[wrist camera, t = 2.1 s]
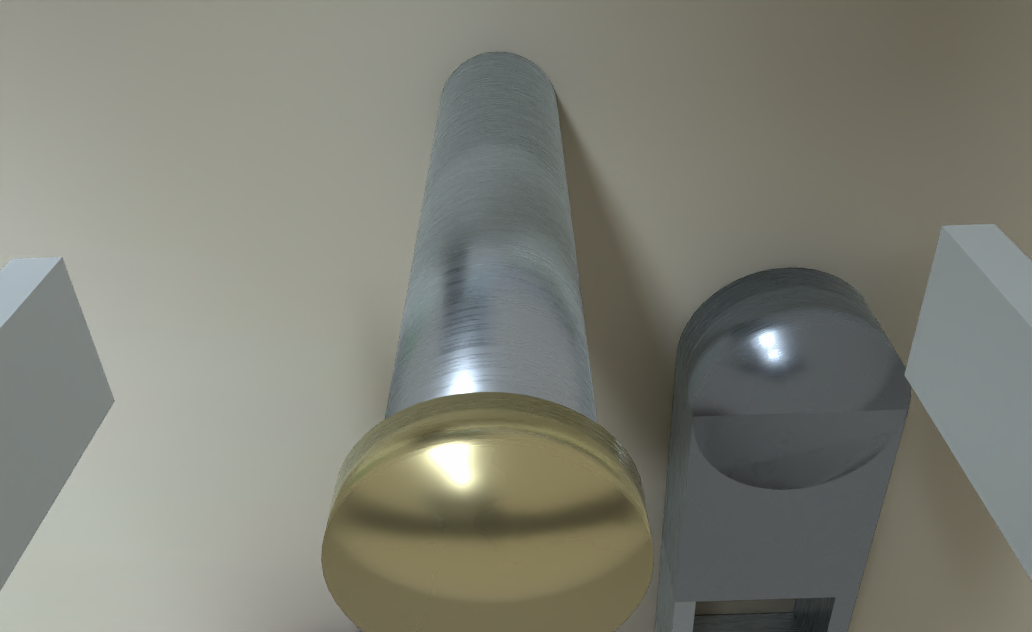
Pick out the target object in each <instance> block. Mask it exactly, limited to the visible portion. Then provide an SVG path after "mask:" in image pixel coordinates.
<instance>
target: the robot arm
mask: <svg viewBox="0 0 1032 632" xmlns="http://www.w3.org/2000/svg"><path fill="white" fill-rule="evenodd" d="M904 375H905V377H906V379H907V380H908V382H909V383H910V385H911V387H912V388H913V390H914V391H915V393H916V395H917V396H918V398H919V400H920V401H921V403H922V404H923V406H924V408H925V409H926V411H927V413H928V414H929V416H930V417H931V419H932V421H933V422H934V424H935V426H936V427H937V429H938V430H939V432H940V434H941V435H942V437H943V438H944V440H945V442H946V443H947V445H948V447H949V448H950V450H951V451H952V453H953V455H954V456H955V458H956V460H957V461H958V463H959V464H960V466H961V468H962V469H963V471H964V473H965V474H966V476H967V477H968V479H969V481H970V482H971V484H972V486H973V487H974V489H975V490H976V492H977V494H978V495H979V497H980V498H981V500H982V502H983V503H984V505H985V507H986V508H987V510H988V511H989V513H990V515H991V516H992V518H993V520H994V521H995V523H996V524H997V526H998V528H999V529H1000V531H1001V533H1002V534H1003V536H1004V537H1005V539H1006V541H1007V542H1008V544H1009V545H1010V547H1011V549H1012V550H1013V552H1014V554H1015V555H1016V557H1017V558H1018V560H1019V562H1020V563H1021V565H1022V567H1023V568H1024V570H1025V571H1026V573H1027V575H1028V576H1029V578H1030V580H1031V581H1032V261H1031V260H1030V259H1029V258H1028V257H1027V256H1026V255H1025V254H1024V253H1023V252H1022V251H1021V250H1020V249H1019V248H1018V247H1017V246H1016V245H1015V244H1014V243H1013V242H1012V241H1011V240H1010V239H1009V238H1008V237H1007V236H1006V235H1005V234H1004V233H1003V232H1002V231H1001V230H1000V229H999V228H998V227H997V226H996V225H995V224H973V225H945V226H942V227H941V231H940V235H939V239H938V243H937V247H936V251H935V255H934V259H933V263H932V267H931V271H930V275H929V279H928V283H927V287H926V291H925V295H924V299H923V303H922V307H921V311H920V315H919V319H918V323H917V327H916V331H915V335H914V339H913V343H912V347H911V351H910V355H909V359H908V363H907V367H906V370H905V374H904ZM114 401H115V400H114V397H113V395H112V392H111V389H110V387H109V384H108V381H107V378H106V376H105V373H104V370H103V367H102V365H101V362H100V359H99V356H98V354H97V351H96V348H95V345H94V343H93V340H92V337H91V335H90V332H89V329H88V326H87V324H86V321H85V318H84V315H83V313H82V310H81V307H80V304H79V302H78V299H77V296H76V293H75V291H74V288H73V285H72V283H71V280H70V277H69V274H68V272H67V269H66V266H65V263H64V261H63V258H62V257H49V258H21V259H11V260H10V261H9V262H8V263H7V264H6V265H5V266H4V267H3V269H2V270H1V271H0V591H1V589H2V587H3V586H4V584H5V582H6V581H7V579H8V577H9V576H10V574H11V572H12V571H13V569H14V567H15V566H16V564H17V562H18V561H19V559H20V557H21V556H22V554H23V552H24V551H25V549H26V547H27V546H28V544H29V543H30V541H31V539H32V538H33V536H34V534H35V533H36V531H37V529H38V528H39V526H40V524H41V523H42V521H43V519H44V518H45V516H46V514H47V513H48V511H49V509H50V508H51V506H52V504H53V503H54V501H55V499H56V498H57V496H58V494H59V493H60V491H61V489H62V488H63V486H64V484H65V483H66V481H67V479H68V478H69V476H70V474H71V473H72V471H73V469H74V468H75V466H76V464H77V463H78V461H79V459H80V458H81V456H82V454H83V453H84V451H85V449H86V448H87V446H88V444H89V443H90V441H91V439H92V438H93V436H94V434H95V433H96V431H97V429H98V428H99V426H100V424H101V423H102V421H103V420H104V418H105V416H106V415H107V413H108V411H109V410H110V408H111V406H112V405H113V403H114Z"/></svg>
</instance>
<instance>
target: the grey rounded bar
mask: <svg viewBox="0 0 1032 632" xmlns="http://www.w3.org/2000/svg"><path fill="white" fill-rule="evenodd" d="M905 370H906V368H905V366H904V364H903V363H902V361H901V359H900V358H899V356H898V354H897V353H896V351H895V349H894V348H893V346H892V344H891V343H890V341H889V340H888V338H887V336H886V335H885V333H884V331H883V330H882V328H881V326H880V325H879V323H878V322H877V320H876V318H875V317H874V315H873V313H872V312H871V310H870V308H869V307H868V305H867V304H866V302H865V300H864V299H863V298H862V296H861V295H860V294H859V293H858V292H857V291H856V290H855V289H854V288H853V287H851V286H850V285H849V284H848V283H846V282H844V281H843V280H841V279H839V278H837V277H835V276H833V275H830V274H828V273H825V272H821V271H817V270H812V269H805V268H781V269H772V270H767V271H762V272H758V273H755V274H752V275H749V276H746V277H744V278H741V279H739V280H737V281H734V282H733V283H731V284H729V285H727V286H726V287H724V288H722V289H721V290H719V291H718V292H717V293H715V294H714V295H712V296H711V297H710V298H709V299H708V300H707V301H706V302H704V303H703V304H702V305H701V306H700V307H699V309H698V310H697V311H696V312H695V313H694V314H693V316H692V317H691V319H690V320H689V322H688V323H687V325H686V327H685V329H684V331H683V333H682V336H681V339H680V342H679V345H678V351H677V359H676V372H675V385H674V397H673V410H672V422H671V435H670V447H669V460H668V472H667V485H666V497H665V510H664V523H663V535H662V548H661V560H660V573H659V585H658V598H657V610H656V623H655V632H847V631H848V627H849V623H850V620H851V616H852V613H853V609H854V605H855V602H856V598H857V594H858V591H859V587H860V584H861V580H862V576H863V573H864V569H865V565H866V562H867V558H868V554H869V551H870V547H871V544H872V540H873V536H874V533H875V529H876V525H877V522H878V518H879V515H880V511H881V507H882V504H883V500H884V496H885V493H886V489H887V485H888V482H889V478H890V475H891V471H892V467H893V464H894V460H895V456H896V453H897V449H898V446H899V442H900V438H901V435H902V431H903V427H904V424H905V420H906V417H907V413H908V409H909V404H910V399H911V386H910V383H909V382H908V380H907V379H906V377H905V375H904V374H905ZM764 599H796V603H795V607H794V612H793V613H774V614H742V615H710V616H694V615H695V606H696V602H701V601H733V600H764Z"/></svg>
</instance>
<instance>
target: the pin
mask: <svg viewBox="0 0 1032 632" xmlns="http://www.w3.org/2000/svg"><path fill="white" fill-rule="evenodd" d="M321 561H322V568H323V575H324V578H325V581H326V583H327V586H328V589H329V591H330V593H331V595H332V596H333V598H334V600H335V602H336V603H337V605H338V606H339V607H340V608H341V610H342V611H343V612H344V614H345V615H346V616H347V617H348V618H349V619H350V620H351V621H352V622H353V623H354V624H356V625H357V626H358V627H359V628H360V629H362V630H363V631H364V632H613V631H614V630H616V629H617V628H618V627H619V626H620V625H621V624H622V623H624V622H625V621H626V620H627V619H628V618H629V617H630V615H631V614H632V613H633V612H634V611H635V609H636V608H637V607H638V606H639V604H640V602H641V601H642V599H643V597H644V595H645V594H646V592H647V589H648V586H649V584H650V581H651V577H652V572H653V566H654V554H653V545H652V539H651V533H650V527H649V522H648V516H647V510H646V505H645V499H644V493H643V488H642V484H641V479H640V476H639V474H638V471H637V469H636V467H635V464H634V463H633V461H632V459H631V458H630V456H629V455H628V453H627V452H626V450H625V449H624V448H623V447H622V446H621V444H620V443H619V442H618V441H617V440H616V439H615V438H614V437H613V436H612V435H611V434H610V433H609V432H607V431H606V430H605V429H604V428H603V427H601V426H600V425H599V424H597V416H596V408H595V400H594V392H593V384H592V376H591V368H590V361H589V353H588V345H587V337H586V329H585V321H584V313H583V305H582V297H581V289H580V281H579V273H578V266H577V258H576V250H575V242H574V234H573V226H572V218H571V210H570V202H569V194H568V186H567V178H566V171H565V163H564V155H563V147H562V139H561V131H560V123H559V115H558V107H557V100H556V95H555V92H554V89H553V86H552V84H551V82H550V81H549V79H548V77H547V76H546V75H545V73H544V72H543V71H542V70H541V69H540V68H539V67H538V66H537V65H535V64H534V63H533V62H531V61H529V60H528V59H526V58H524V57H522V56H519V55H516V54H512V53H507V52H490V53H484V54H480V55H478V56H475V57H473V58H471V59H469V60H467V61H466V62H464V63H463V64H461V65H460V66H459V67H458V68H457V69H456V70H455V71H454V72H453V73H452V75H451V76H450V77H449V79H448V81H447V82H446V85H445V87H444V89H443V93H442V97H441V102H440V107H439V113H438V119H437V125H436V130H435V136H434V142H433V148H432V153H431V159H430V165H429V171H428V176H427V182H426V188H425V193H424V199H423V205H422V211H421V216H420V222H419V228H418V234H417V239H416V245H415V251H414V256H413V262H412V268H411V274H410V279H409V285H408V291H407V297H406V302H405V308H404V314H403V319H402V325H401V331H400V337H399V342H398V348H397V354H396V360H395V365H394V371H393V377H392V382H391V388H390V394H389V400H388V405H387V411H386V417H385V420H383V421H382V422H380V423H379V424H378V425H376V426H375V427H374V428H373V429H371V430H370V431H369V432H368V433H366V434H365V435H364V436H363V438H362V439H361V440H360V441H359V442H358V443H357V444H356V445H355V446H354V447H353V449H352V450H351V452H350V453H349V455H348V456H347V458H346V459H345V461H344V463H343V465H342V468H341V470H340V472H339V475H338V479H337V483H336V487H335V491H334V495H333V500H332V504H331V509H330V513H329V518H328V522H327V527H326V531H325V535H324V540H323V544H322V559H321Z"/></svg>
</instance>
